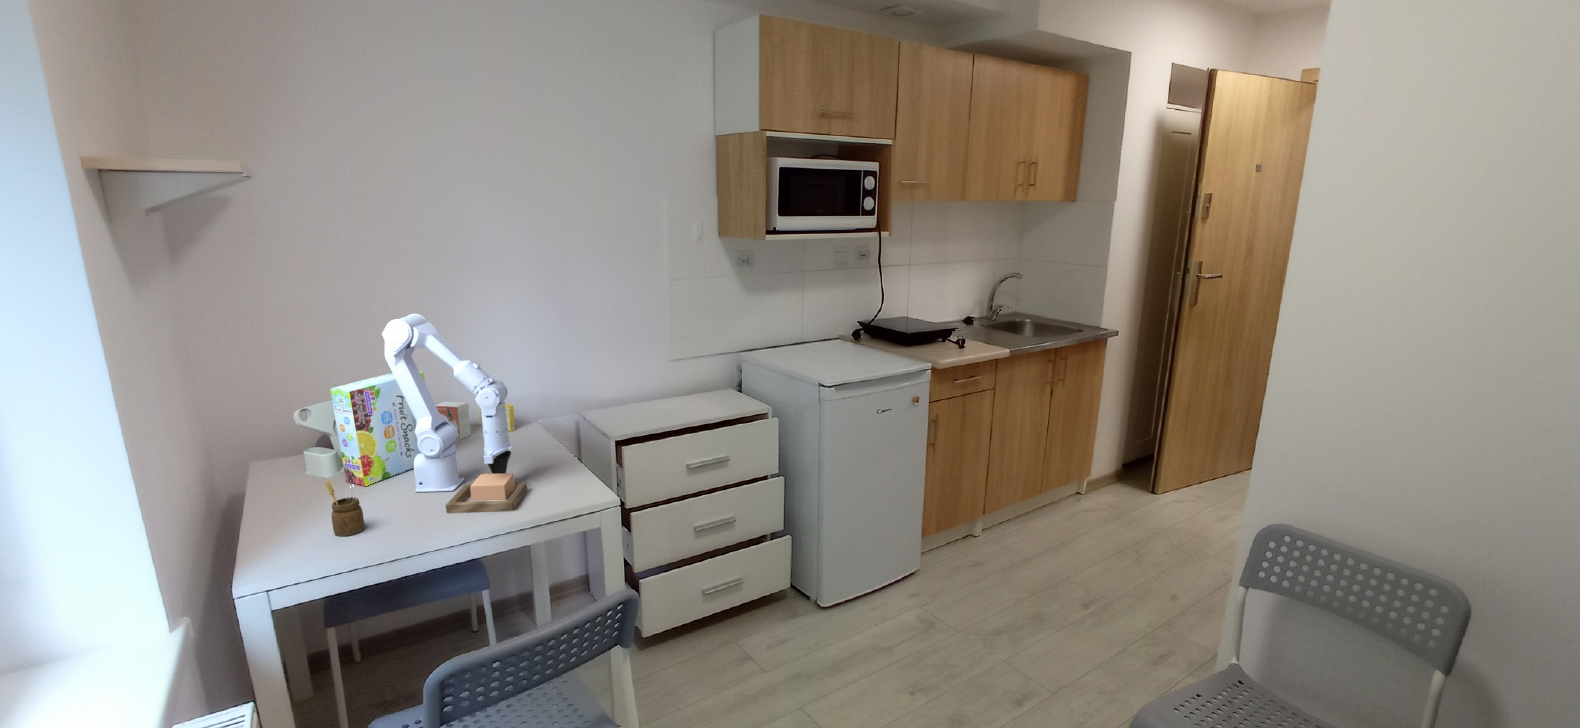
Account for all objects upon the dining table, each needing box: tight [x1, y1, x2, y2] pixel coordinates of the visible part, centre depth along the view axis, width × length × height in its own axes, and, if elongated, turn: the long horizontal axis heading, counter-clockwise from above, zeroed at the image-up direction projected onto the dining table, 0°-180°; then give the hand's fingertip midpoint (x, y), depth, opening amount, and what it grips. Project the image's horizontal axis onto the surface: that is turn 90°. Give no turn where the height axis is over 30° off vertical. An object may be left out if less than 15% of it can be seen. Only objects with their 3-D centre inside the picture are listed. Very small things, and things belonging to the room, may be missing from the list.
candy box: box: [477, 403, 515, 433], centre depth 235 cm, size 16×2×8 cm, turn 58°
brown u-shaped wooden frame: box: [445, 482, 528, 514], centre depth 178 cm, size 15×12×2 cm
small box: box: [435, 400, 472, 440], centre depth 225 cm, size 8×6×10 cm
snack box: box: [329, 371, 426, 487], centre depth 195 cm, size 22×9×26 cm, turn 155°
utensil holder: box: [324, 478, 365, 537], centre depth 161 cm, size 6×6×12 cm
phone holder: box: [293, 399, 345, 479], centre depth 200 cm, size 17×10×18 cm, turn 158°
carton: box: [470, 472, 516, 502], centre depth 182 cm, size 8×8×4 cm
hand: (500, 480), depth 187 cm, fingers closed
